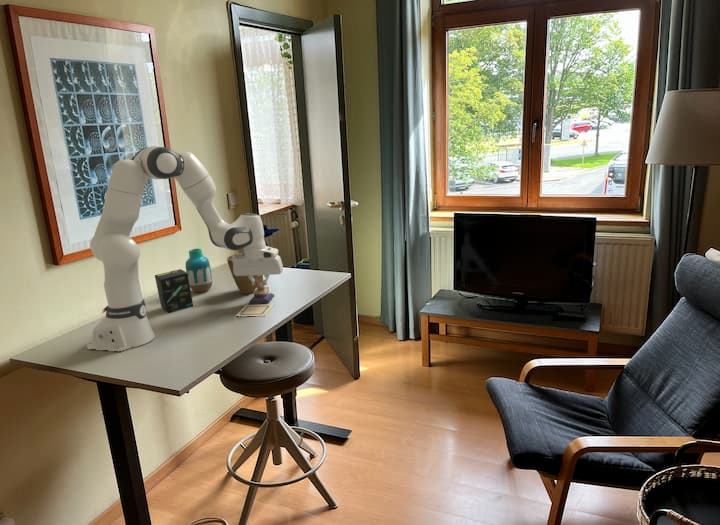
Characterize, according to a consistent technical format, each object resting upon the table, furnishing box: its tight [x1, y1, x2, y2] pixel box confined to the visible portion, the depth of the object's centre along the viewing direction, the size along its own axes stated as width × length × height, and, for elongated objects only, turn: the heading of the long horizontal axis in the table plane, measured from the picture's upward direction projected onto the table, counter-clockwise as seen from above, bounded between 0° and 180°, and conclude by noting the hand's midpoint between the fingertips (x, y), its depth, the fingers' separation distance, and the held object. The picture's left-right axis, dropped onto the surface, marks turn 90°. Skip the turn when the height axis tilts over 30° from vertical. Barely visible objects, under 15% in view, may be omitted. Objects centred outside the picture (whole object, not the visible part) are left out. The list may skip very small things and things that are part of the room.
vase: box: [185, 248, 213, 293], centre depth 233 cm, size 11×11×19 cm
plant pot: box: [226, 251, 257, 294], centre depth 228 cm, size 15×15×16 cm
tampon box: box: [154, 268, 194, 314], centre depth 215 cm, size 11×9×15 cm
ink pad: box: [249, 292, 275, 305], centre depth 216 cm, size 8×8×2 cm
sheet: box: [235, 303, 275, 318], centre depth 205 cm, size 12×12×1 cm
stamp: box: [253, 275, 270, 297], centre depth 214 cm, size 5×5×9 cm
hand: (260, 285), depth 214 cm, fingers closed on stamp, 3 cm apart
